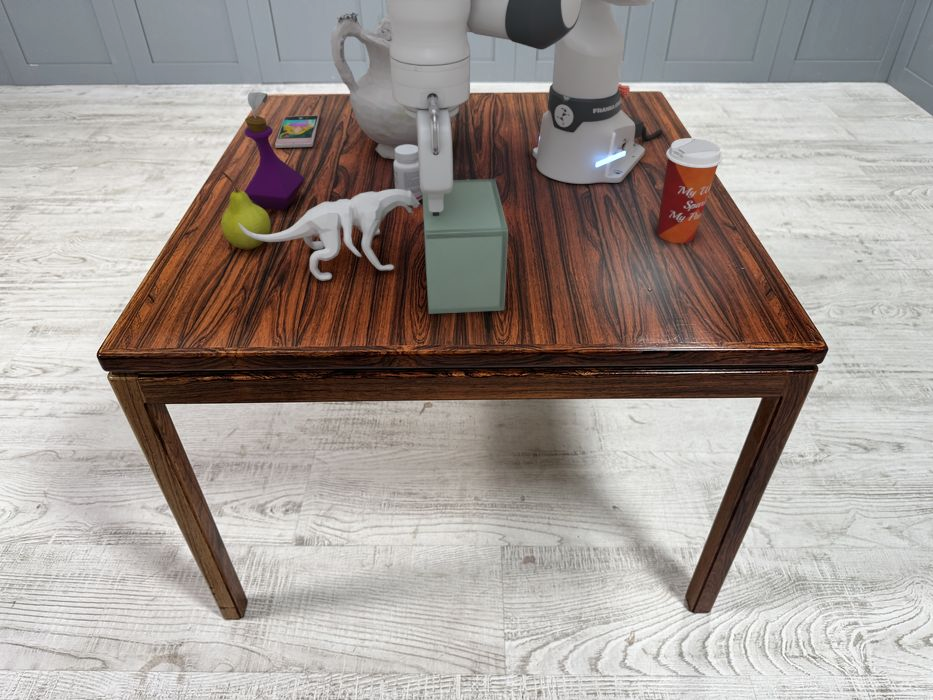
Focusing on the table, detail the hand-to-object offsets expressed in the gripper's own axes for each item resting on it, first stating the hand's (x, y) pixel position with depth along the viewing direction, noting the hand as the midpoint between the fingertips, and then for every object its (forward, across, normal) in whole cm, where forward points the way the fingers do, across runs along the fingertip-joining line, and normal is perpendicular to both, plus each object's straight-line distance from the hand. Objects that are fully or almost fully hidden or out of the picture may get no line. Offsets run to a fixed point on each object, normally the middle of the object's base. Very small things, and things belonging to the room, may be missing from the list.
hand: (434, 193), depth 82 cm
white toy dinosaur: (+14, +7, +14) cm, 21 cm away
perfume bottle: (+14, +25, +25) cm, 38 cm away
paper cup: (+14, +11, -38) cm, 41 cm away
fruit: (+14, +12, +28) cm, 33 cm away
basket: (+14, 0, -3) cm, 14 cm away
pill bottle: (+14, +26, +4) cm, 30 cm away
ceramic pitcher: (+14, +46, +5) cm, 48 cm away
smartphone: (+14, +55, +26) cm, 62 cm away
